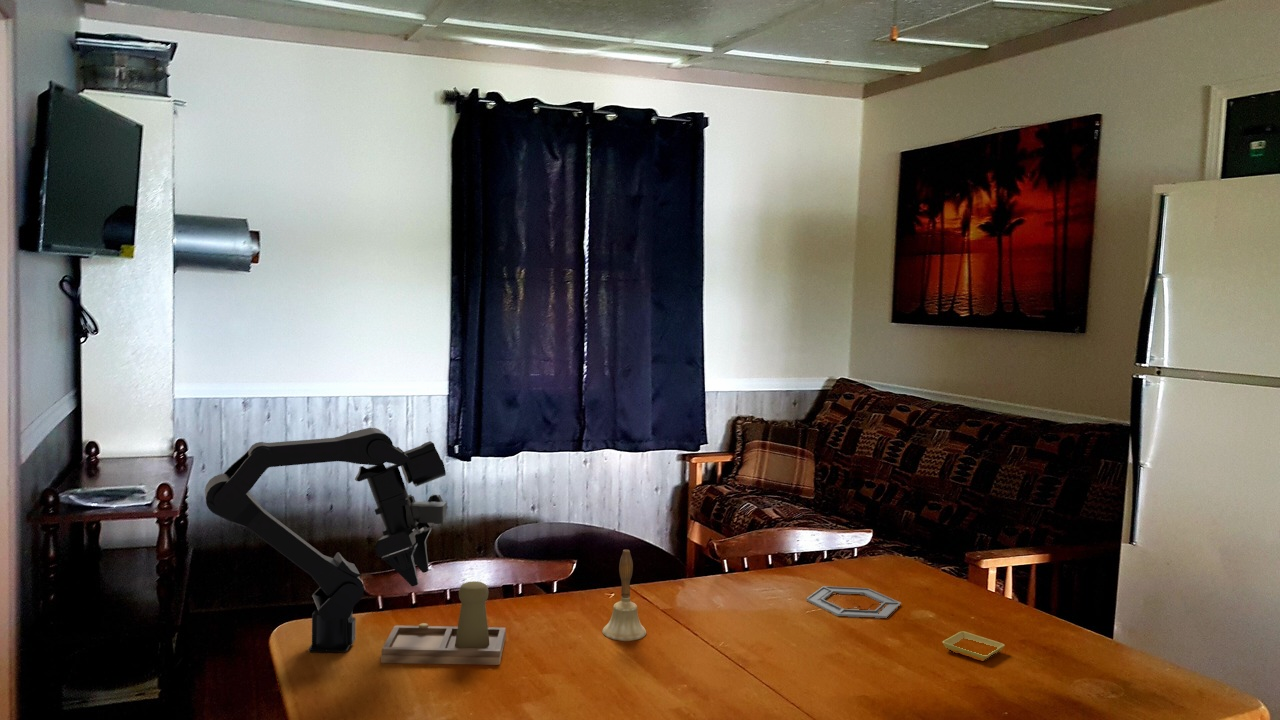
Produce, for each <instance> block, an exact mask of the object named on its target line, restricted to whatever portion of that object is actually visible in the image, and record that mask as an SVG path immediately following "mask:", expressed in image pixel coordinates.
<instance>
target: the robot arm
mask: <svg viewBox="0 0 1280 720" xmlns="http://www.w3.org/2000/svg"><path fill="white" fill-rule="evenodd" d="M331 462H342V463H343V462H345V463H350V464H357V465H361V466H359V467H358V468H359V470H358V473H357V474H356V476H355V477H354V480H355V482H362V481H365V480H367V482H368V485H369V488H370V492H371V493H372V497H373V499H374V503H375V505H376V508H375V509H374V512H375V514H376V516H378V515H379V516H380V519H381V521H382V525H383V528H384V530H382V534H383V536H381V537H380V538H379V539H377V541H376V543H375V546H374V550H375V552H376V556H377V558H381V560H382V561H385V562H386V563H387V564H388V565H389V566H390V567H391V568H392V569H394V570H395V571H396V573H398V574H399V575H400V576H401V577H402V578H403V579H404V580H405V581H406V582H407V584H409V585H410V586H411V587H415V586H418V584H419V581H418V574H417V569H416V567H417V568H418V569H419V570H420V571H421V572H422V574H424V573H428V572H429V568H430V567H429V559H428V551H427V540H428V537H429V536H430V535H429V534H430V533H431V531H432V529H433V528H432V526H433V524H434V525H441V524H444V522H445V521H446V520H447V510H448V505H447V501H446V500H443V498H442V497H441V494H432V495H430V496H429V498H428V500H427V501H426V500H423V501H416V499H415V497H414V495H412V494H409V493H408V490H407V488H406V485H405V481H406V483H407V484H408V485H409V484H411V483H412V484H413V486H415V488H417V487H419V486H422V485H425V484H427V483H429V482H432V481H435V480H438V479H439V478H442V477H445V476H446V474H447V471H446V467H445V464H444V460H443V459H442V458H441V456H440V454H439V452H438V450H437V448H436V446H435V443H434V442H432V441H429V440H428V441H427V442H424V443H422V444H421V445H419V446H417V447H414V448H411V449H409V450H405V451H404V450H403V449H401V448H400V446H395V445H394V443H393V441H392V440H391V438H390V437H389V436H388V435H387V434H386V433H385V432H383V431H382V430H380V429H379V428H377V427H367V428H362V429H359V430H354V431H351V432H349V433H346V434H343V435H340V436H336V437H326V438H325V437H323V438H315V439H312V438H311V439H302V440H288V441H275V442H274V441H273V442H264V441H259V442H255V443H254V444H252V445H251V446H250V447H249V449H248V450H247V451H246V452H245V453H244V454H243V455H242V456H241V457H240V458H238V459H237V460H236V461H235V462H234V463H232V464H231V465H230V466H229V467H228V468H227V469H226V470H225V471H224V473H221V474H217V475H215V476H213V477H211V478H210V479H209V480H208V482H207V483H206V484H205V488H204V497H205V503H206V507H207V508H208V509H209V511H210V512H211V513H212V514H214V515H216V516H218V517H220V518H222V519H224V520H226V521H228V522H230V523H233V524H236V525H238V526H241V527H244V528H246V529H248V530H249V531H251V533H253V534H255V535H256V536H257V537H259V538H260V539H262V540H263V542H265V543H267V544H268V545H269V546H271V547H272V548H273V549H275V551H276V552H278V553H280V554H281V555H283V557H285V558H286V559H288V560H289V561H290V562H292V563H293V564H294V565H295V566H297V567H298V568H300V569H301V570H302V571H304V572H305V573H306V574H308V575H310V577H311V578H312V579H313V580H314V581H315V582H316V584H317V585H318V586H319V588H317V590H315V591H314V592H313V593H312V595H311V597H312V598H313V601H314V604H315V607H316V608H315V609H314V611H313V612H312V614H311V644H310V646H309V647H308V652H315V653H317V652H318V653H319V652H320V653H321V652H322V653H346V652H347V651H348V650H349V648H350V647H351V645H353V643H354V641H355V640H356V620H357V619H356V617H355V616H354V617H353V610H354V608H355V605H356V604H358V603H359V602H360V601H361V599H362V598H363V596H364V593H365V585H364V582H363V581H362V579H361V578H360V577H361V573H360V572H359V570H358V568H357V567H356V565H355V563H352V562H349V561H347V560H346V559H345V558H344V557H343V556H342V554H341V553H340V552H336V553H335V555H334V556H333V557H331V556H328V555H324V554H323V553H322V552H321V551H319V550H318V549H316V548H315V547H314V546H312V545H311V544H310V543H309V542H307V541H306V540H305V539H303V538H302V537H301V536H300V535H298V534H297V533H296V532H294V531H293V530H292V529H291V528H289V527H287V525H285V524H284V523H282V522H281V521H280V520H279V519H277V518H276V517H275V516H273V515H272V514H271V513H270V512H268V511H267V510H266V509H264V508H263V507H262V506H261V505H260V504H259V502H258V501H257V500H256V499H255V498H254V496H253V495H252V494H251V493H250V490H252V488H253V487H254V485H255V484H256V483H257V482H258V480H259V479H260V478H261V477H262V475H263V474H264V473H265V472H266V471H267V470H268V469H269V468H274V467H275V468H276V467H277V468H278V467H288V466H298V465H299V466H301V465H308V464H309V465H310V464H320V463H331ZM385 463H389V464H392V465H388V466H386V465H385ZM362 465H367V466H370V467H364V466H362ZM399 467H400V468H401V470H400V469H399ZM401 471H402V474H401ZM402 475H403V476H404V479H405V481H404V479H403V476H402ZM425 528H426V529H425Z"/></svg>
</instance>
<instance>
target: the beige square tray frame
mask: <svg viewBox="0 0 1280 720" xmlns="http://www.w3.org/2000/svg"><path fill="white" fill-rule="evenodd" d="M963 638H964V639H968V640H973V641H976V642H979V643H984V644H986V645H990V646H994V647H997V649H996V650H994V651H992V652H991V653H989V654H988V655H982V654H979V653H976V652H972V651H969V650H966V649H963V648H960V647H957V646H954V645H953V644H955V643H957V642H959V641H960V640H961V639H963ZM942 645H944V647H945V648H946V649H947V648H948V649H951V650H955V651H959V652H962V653H965V654H969V655H972V656H975V657H978V658H981V659H986V658H988V657H989V656H991V655H993V654H994V653H996V652H998V651H999V650H1000V651H1001V650H1002V649H1004V647H1005V646H1006V645H1005V644H1004V643H1002V642H999V641H997V640H993V639H989V638H986V637H984V636H981V635H977V634H974V633H971V632H968V631H959V632H956V633H955V634H953V635H952V636H950V637H948V638H946V639H944V640H942ZM948 649H947V650H948ZM1000 651H999V652H1000ZM999 652H998V653H999ZM996 654H997V653H996ZM993 656H994V655H993ZM991 657H992V656H991ZM988 659H989V658H988ZM986 660H987V659H986Z"/></svg>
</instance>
